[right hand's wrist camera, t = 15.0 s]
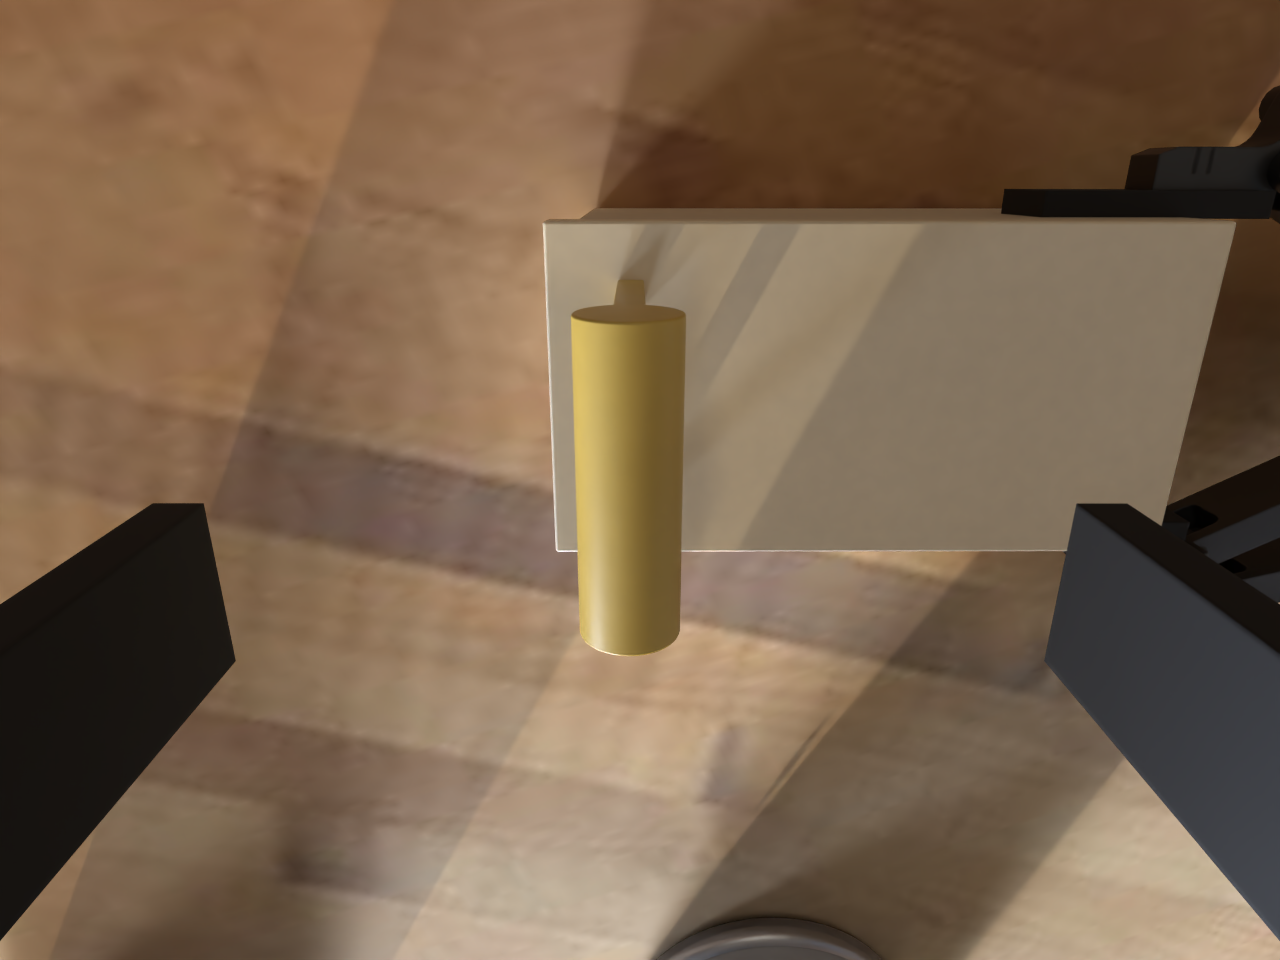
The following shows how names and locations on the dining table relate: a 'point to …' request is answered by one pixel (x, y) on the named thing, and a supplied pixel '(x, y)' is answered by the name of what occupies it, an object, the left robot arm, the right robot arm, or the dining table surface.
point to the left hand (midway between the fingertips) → (995, 371)
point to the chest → (834, 214)
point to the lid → (857, 388)
